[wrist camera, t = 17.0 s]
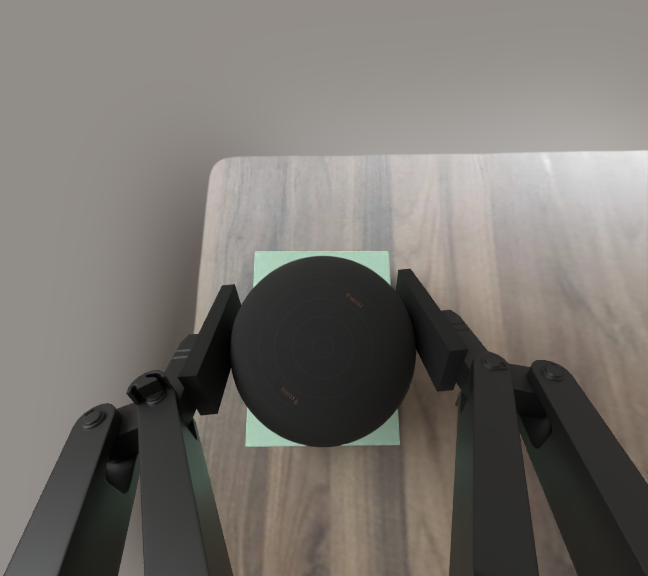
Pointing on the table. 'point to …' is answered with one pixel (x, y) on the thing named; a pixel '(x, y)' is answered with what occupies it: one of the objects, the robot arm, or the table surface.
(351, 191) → the table surface
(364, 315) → the speaker
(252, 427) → the box
